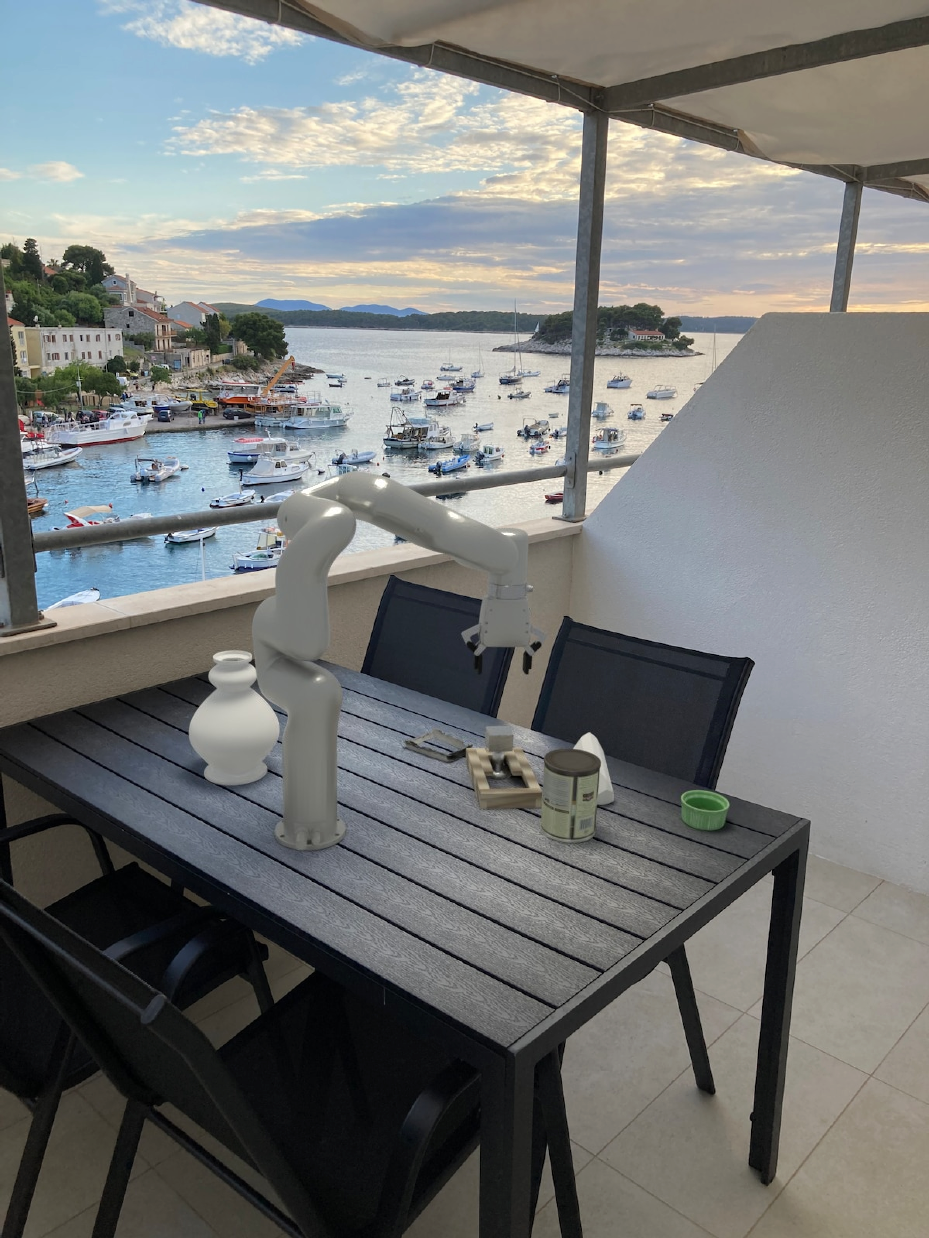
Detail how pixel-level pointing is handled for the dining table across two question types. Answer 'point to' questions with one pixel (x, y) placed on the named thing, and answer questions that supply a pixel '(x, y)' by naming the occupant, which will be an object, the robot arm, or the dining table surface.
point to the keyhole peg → (499, 749)
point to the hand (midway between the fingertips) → (502, 672)
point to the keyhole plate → (503, 798)
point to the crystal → (605, 786)
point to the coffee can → (570, 795)
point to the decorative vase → (234, 723)
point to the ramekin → (704, 809)
